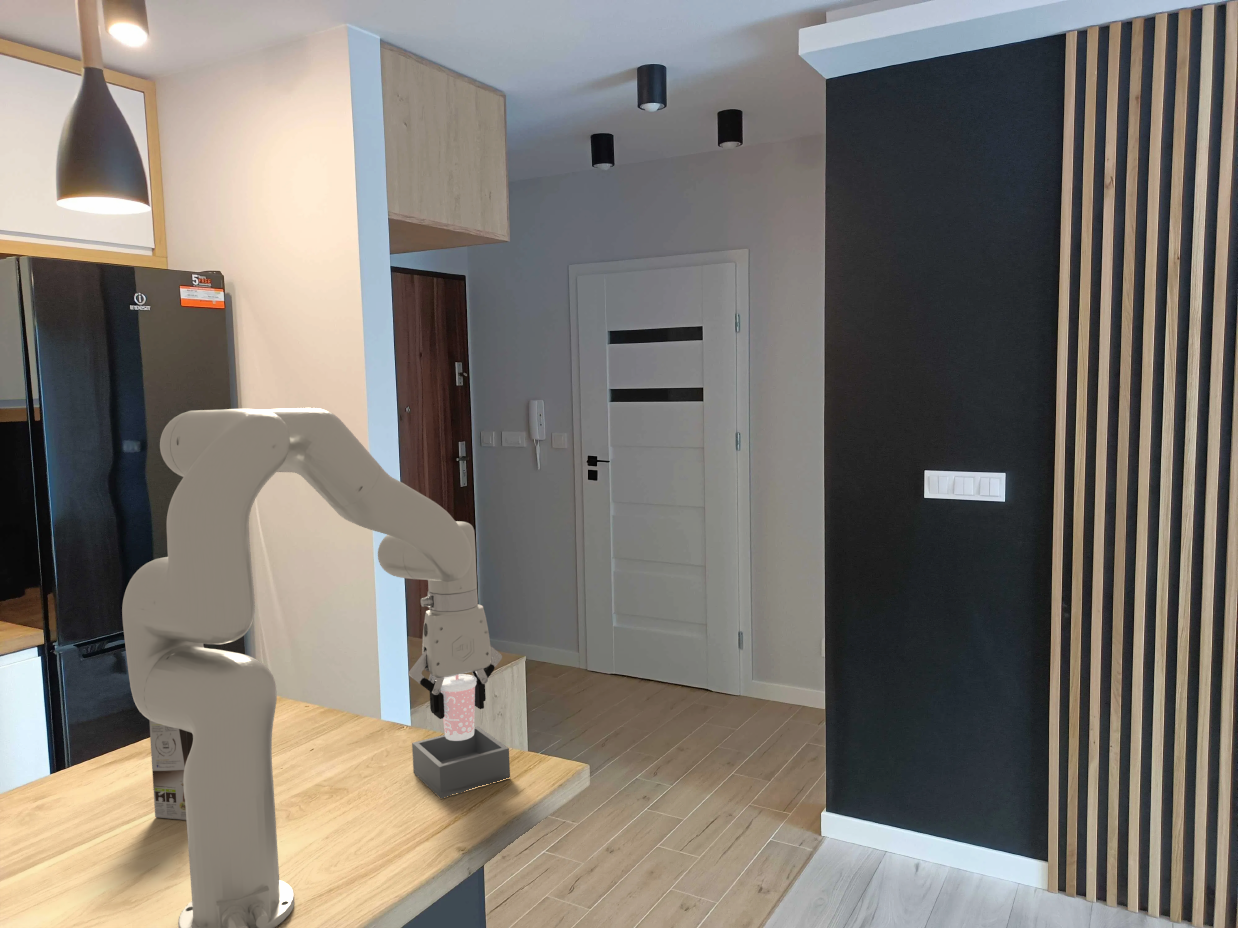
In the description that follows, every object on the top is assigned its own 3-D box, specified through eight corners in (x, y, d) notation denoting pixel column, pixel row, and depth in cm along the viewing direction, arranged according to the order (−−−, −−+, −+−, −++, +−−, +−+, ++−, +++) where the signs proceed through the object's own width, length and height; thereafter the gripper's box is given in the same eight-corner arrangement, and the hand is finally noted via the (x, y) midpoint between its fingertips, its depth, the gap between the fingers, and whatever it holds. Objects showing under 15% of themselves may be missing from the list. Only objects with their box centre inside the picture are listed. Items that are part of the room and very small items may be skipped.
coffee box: (192, 821, 129) (184, 713, 127) (153, 818, 130) (145, 711, 129) (231, 793, 138) (225, 692, 136) (195, 790, 139) (188, 690, 138)
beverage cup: (433, 734, 142) (429, 649, 140) (467, 724, 145) (464, 641, 144) (451, 745, 137) (446, 657, 136) (486, 735, 140) (482, 649, 139)
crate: (510, 778, 140) (508, 748, 139) (440, 798, 133) (439, 766, 133) (479, 754, 150) (478, 726, 149) (413, 772, 143) (412, 742, 143)
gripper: (409, 614, 131) (415, 731, 133) (513, 596, 141) (518, 705, 142) (392, 604, 138) (398, 716, 139) (493, 588, 147) (497, 693, 149)
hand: (458, 710), depth 141 cm, fingers closed on beverage cup, 6 cm apart
